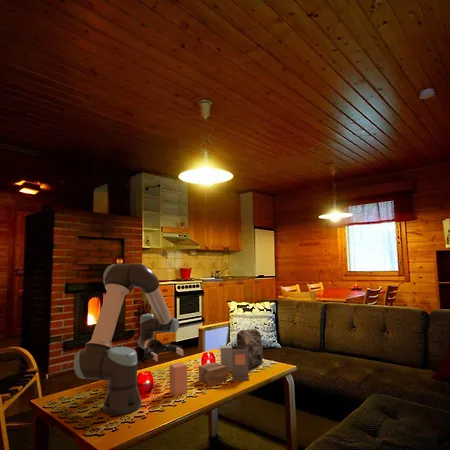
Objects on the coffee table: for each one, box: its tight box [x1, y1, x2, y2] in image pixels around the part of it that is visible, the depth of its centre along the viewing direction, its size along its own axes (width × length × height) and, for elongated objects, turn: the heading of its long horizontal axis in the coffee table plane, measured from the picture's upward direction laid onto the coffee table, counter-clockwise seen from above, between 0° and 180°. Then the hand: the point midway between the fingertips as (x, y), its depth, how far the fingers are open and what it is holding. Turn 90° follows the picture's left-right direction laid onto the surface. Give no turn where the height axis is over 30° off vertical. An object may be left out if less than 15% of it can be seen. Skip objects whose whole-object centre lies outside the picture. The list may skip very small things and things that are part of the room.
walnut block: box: [198, 361, 228, 387], centre depth 172 cm, size 10×10×7 cm
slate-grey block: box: [219, 344, 233, 372], centre depth 190 cm, size 6×6×12 cm
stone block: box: [235, 328, 264, 369], centre depth 195 cm, size 18×9×20 cm, turn 130°
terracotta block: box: [169, 361, 188, 396], centre depth 158 cm, size 6×6×12 cm
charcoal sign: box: [231, 349, 250, 382], centre depth 173 cm, size 8×4×14 cm, turn 93°
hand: (170, 355), depth 168 cm, fingers open, 13 cm apart
